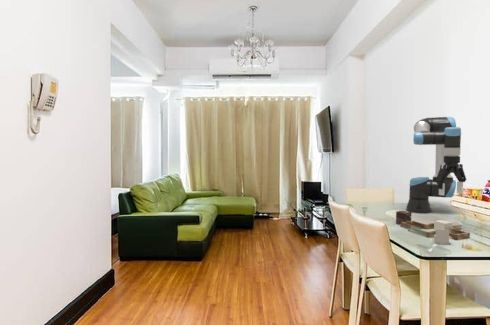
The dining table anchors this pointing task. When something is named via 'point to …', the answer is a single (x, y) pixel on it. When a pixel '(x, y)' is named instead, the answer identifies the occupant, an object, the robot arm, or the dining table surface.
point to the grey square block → (441, 236)
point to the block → (443, 225)
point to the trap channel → (417, 227)
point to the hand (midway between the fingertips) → (450, 194)
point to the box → (402, 216)
